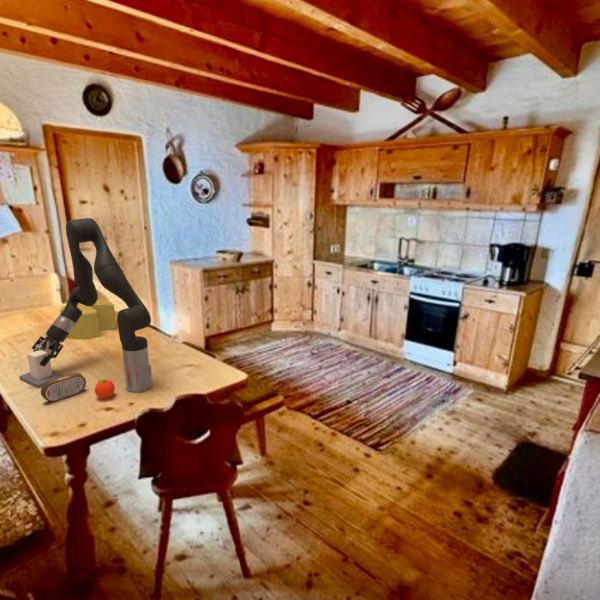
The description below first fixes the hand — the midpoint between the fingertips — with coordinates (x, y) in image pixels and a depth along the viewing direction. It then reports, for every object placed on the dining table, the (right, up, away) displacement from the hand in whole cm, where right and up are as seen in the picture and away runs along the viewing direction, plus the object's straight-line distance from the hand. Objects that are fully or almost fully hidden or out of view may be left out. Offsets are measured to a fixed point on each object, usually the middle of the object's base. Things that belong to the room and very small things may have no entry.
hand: (36, 363), depth 158 cm
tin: (+18, -12, -10) cm, 23 cm away
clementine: (+32, -12, -9) cm, 35 cm away
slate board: (0, -7, +3) cm, 8 cm away
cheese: (-9, +8, +58) cm, 60 cm away
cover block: (0, -6, +3) cm, 6 cm away
